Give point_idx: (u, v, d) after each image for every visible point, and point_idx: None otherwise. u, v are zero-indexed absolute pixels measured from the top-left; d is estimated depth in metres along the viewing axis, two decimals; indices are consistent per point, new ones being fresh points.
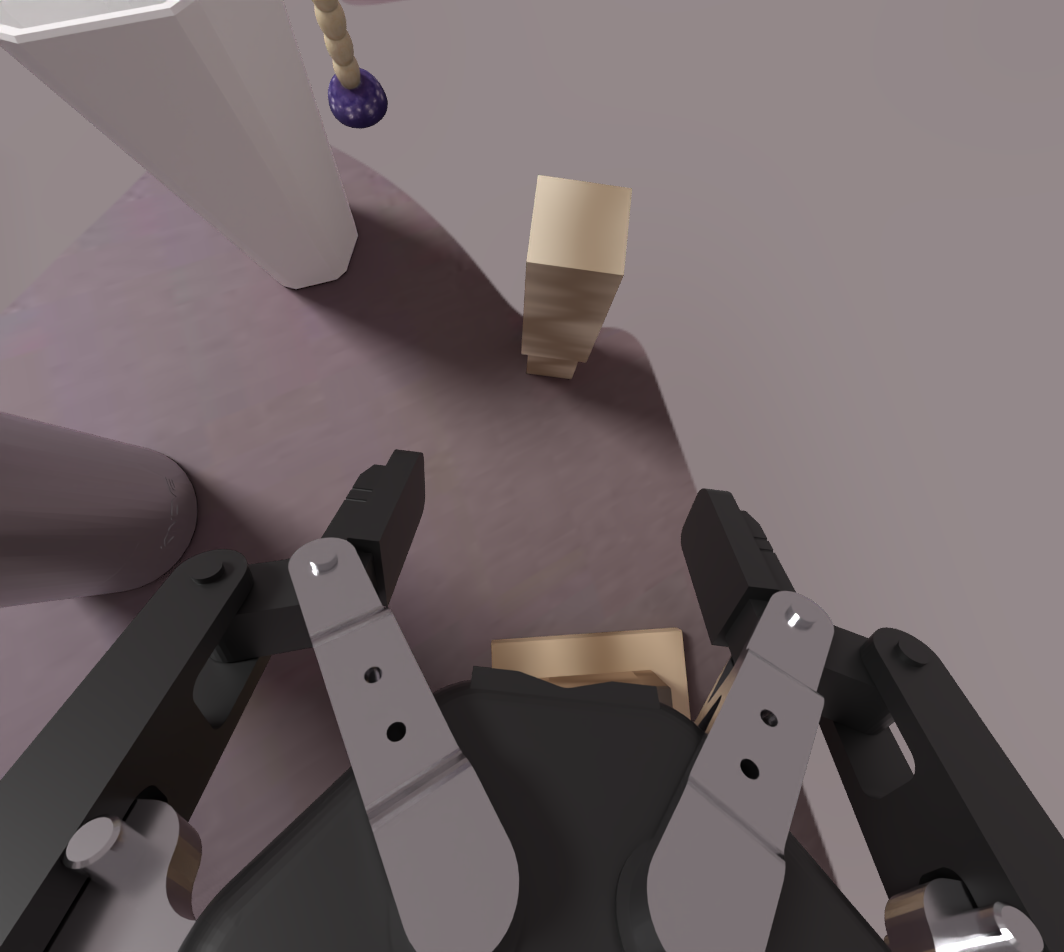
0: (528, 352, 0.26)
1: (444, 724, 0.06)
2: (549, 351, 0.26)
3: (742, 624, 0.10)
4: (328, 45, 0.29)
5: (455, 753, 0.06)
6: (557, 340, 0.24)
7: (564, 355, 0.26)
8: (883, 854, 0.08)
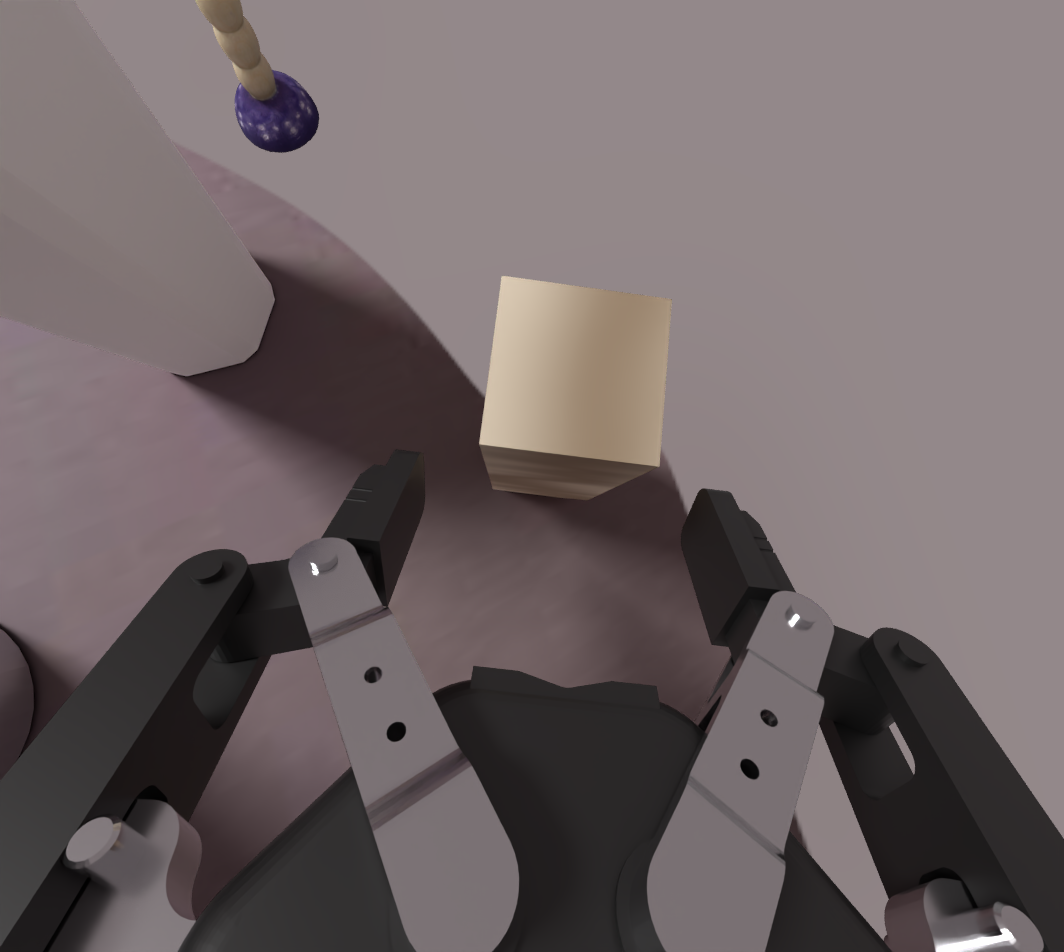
0: (502, 489, 0.18)
1: (444, 724, 0.06)
2: (533, 491, 0.18)
3: (742, 624, 0.10)
4: (219, 40, 0.20)
5: (455, 753, 0.06)
6: (543, 488, 0.16)
7: (554, 495, 0.18)
8: (883, 854, 0.08)
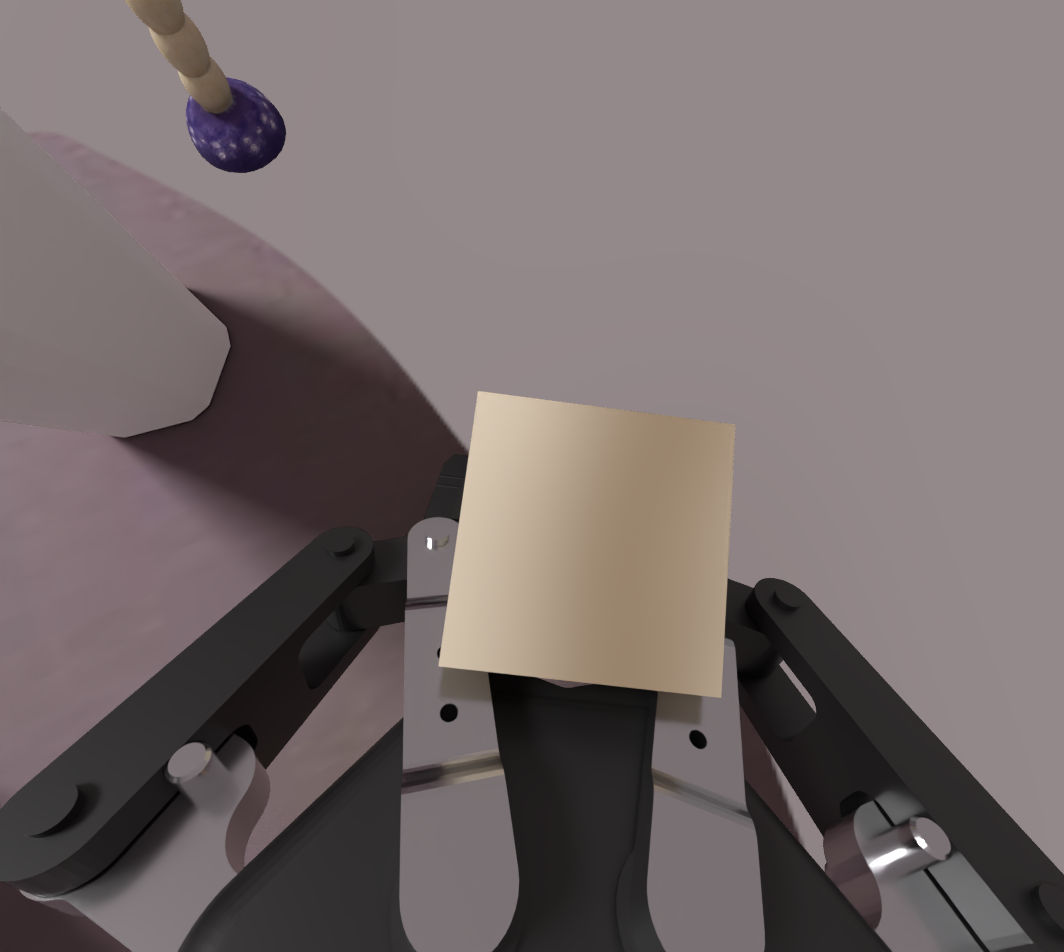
0: None
1: (492, 723, 0.06)
2: None
3: None
4: (157, 43, 0.17)
5: (493, 756, 0.06)
6: None
7: None
8: (805, 789, 0.08)
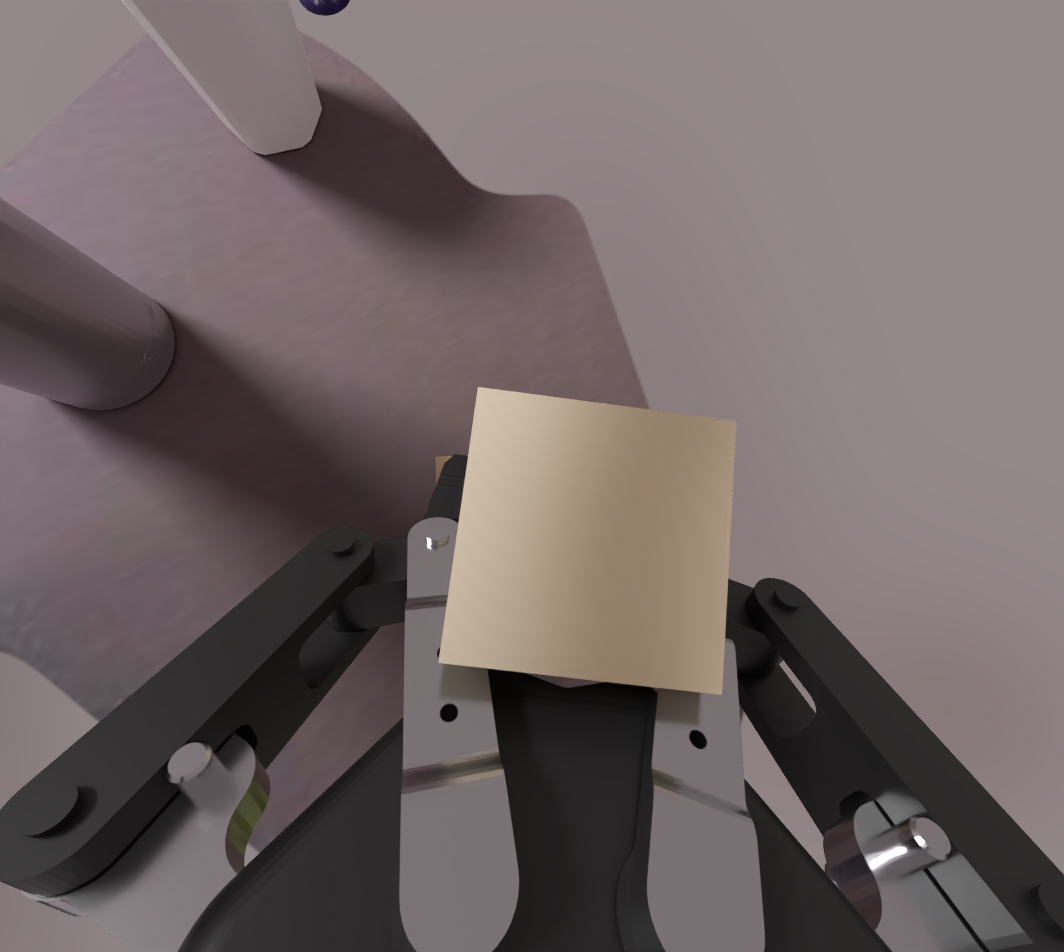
0: None
1: (492, 724, 0.06)
2: None
3: None
4: None
5: (493, 756, 0.06)
6: None
7: None
8: (805, 789, 0.08)
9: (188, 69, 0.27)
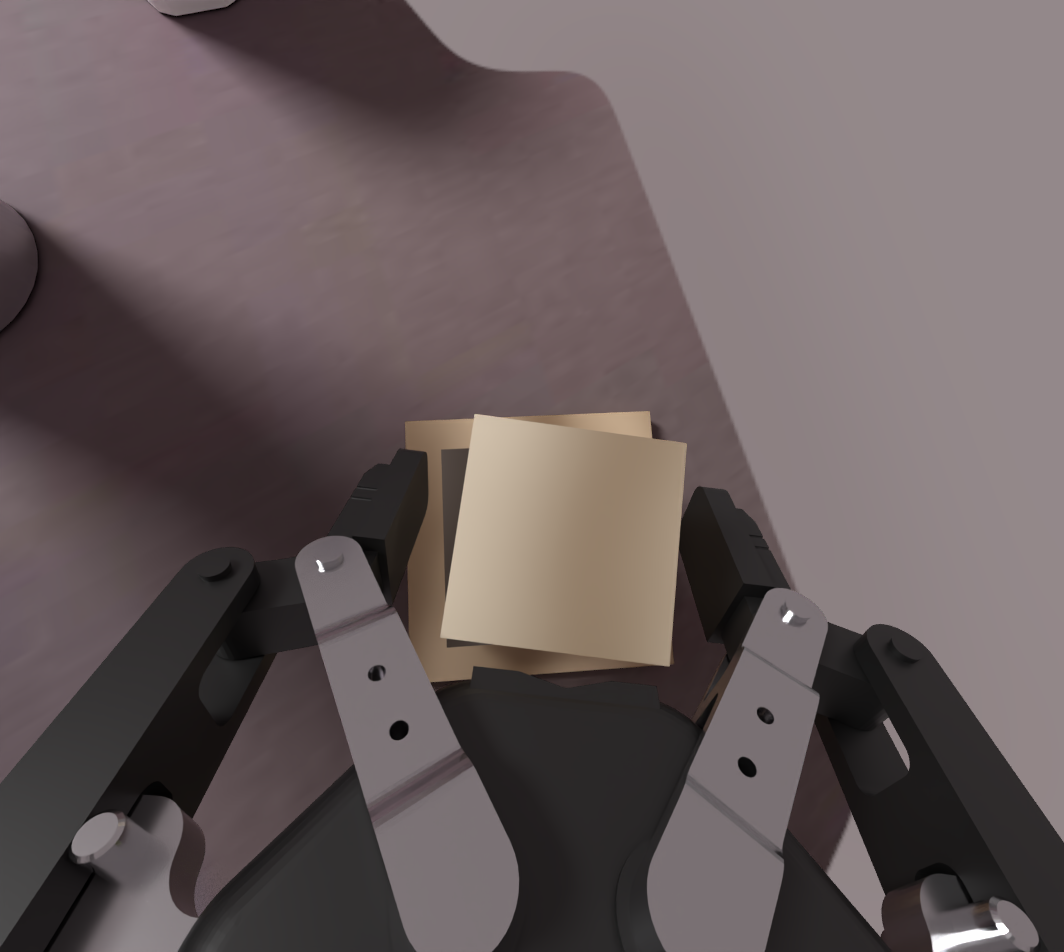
0: None
1: (446, 724, 0.06)
2: None
3: (737, 621, 0.10)
4: None
5: (457, 753, 0.06)
6: None
7: None
8: (879, 850, 0.08)
9: None
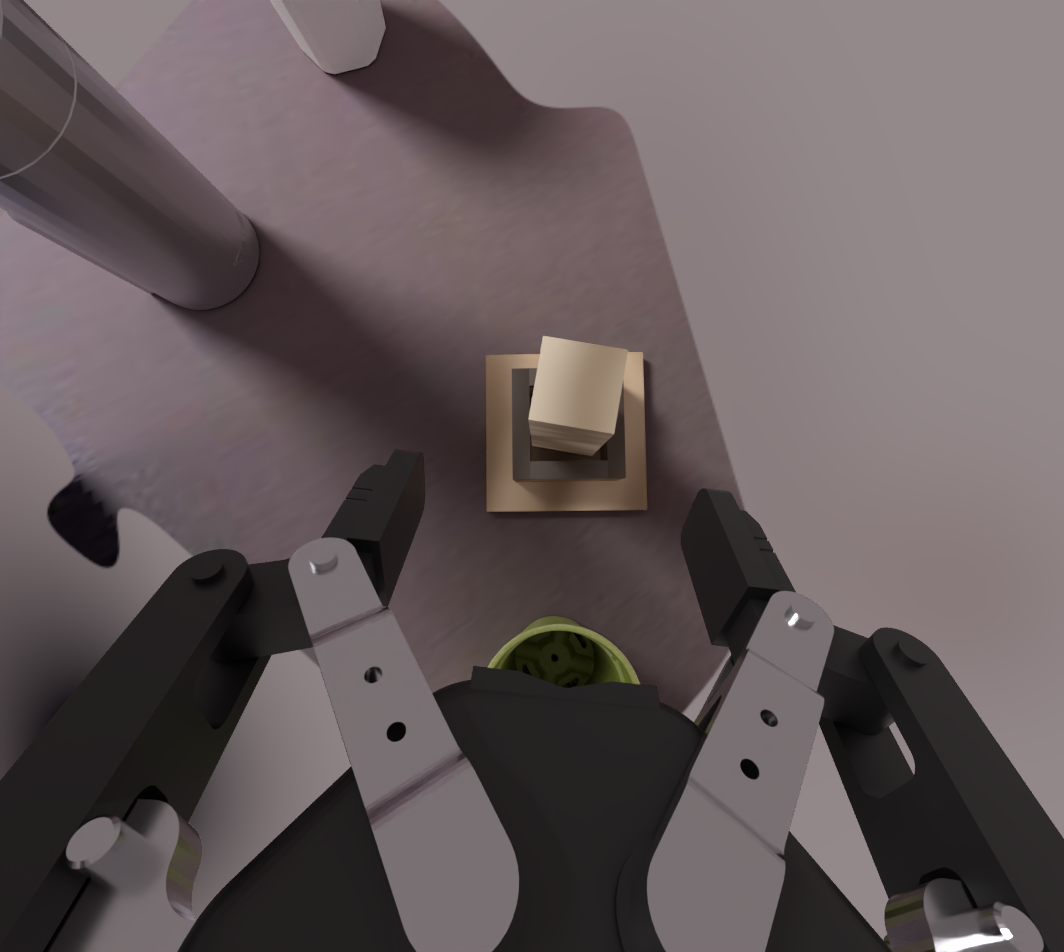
0: (538, 446, 0.29)
1: (444, 724, 0.06)
2: (557, 448, 0.28)
3: (742, 624, 0.10)
4: None
5: (455, 753, 0.06)
6: (563, 445, 0.27)
7: (570, 451, 0.29)
8: (883, 854, 0.07)
9: None
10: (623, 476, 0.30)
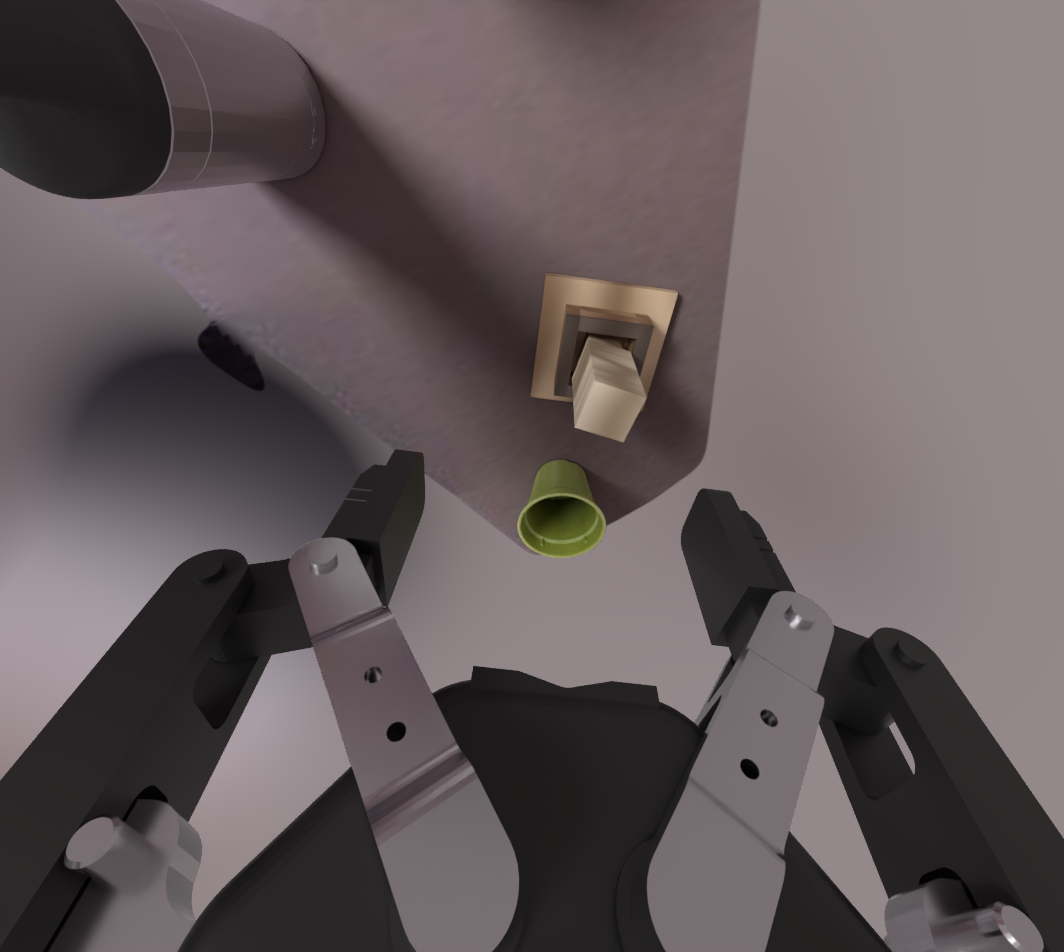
0: None
1: (444, 724, 0.06)
2: None
3: (742, 624, 0.10)
4: None
5: (455, 753, 0.06)
6: None
7: None
8: (883, 854, 0.07)
9: None
10: None
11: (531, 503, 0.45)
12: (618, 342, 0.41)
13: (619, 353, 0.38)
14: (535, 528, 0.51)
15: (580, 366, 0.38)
